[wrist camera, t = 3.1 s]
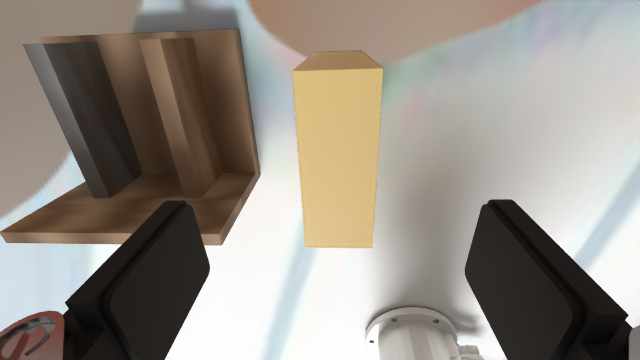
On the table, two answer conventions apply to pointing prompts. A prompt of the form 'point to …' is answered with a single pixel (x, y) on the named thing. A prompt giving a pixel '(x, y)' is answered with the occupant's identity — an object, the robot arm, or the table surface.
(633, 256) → the table surface
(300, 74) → the ochre book
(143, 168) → the shelf
